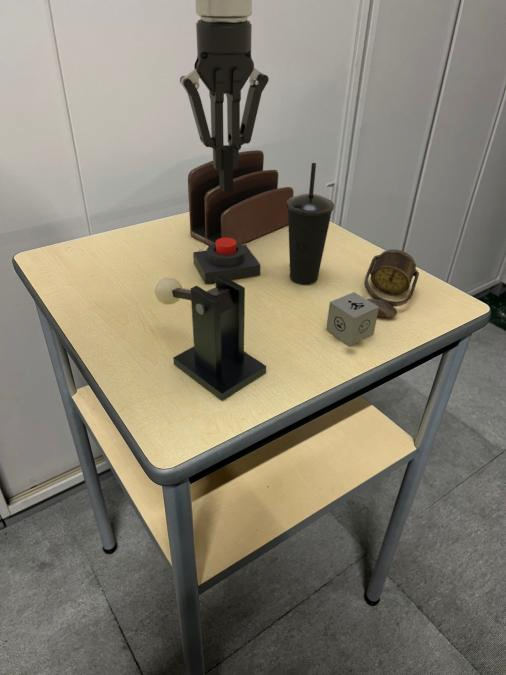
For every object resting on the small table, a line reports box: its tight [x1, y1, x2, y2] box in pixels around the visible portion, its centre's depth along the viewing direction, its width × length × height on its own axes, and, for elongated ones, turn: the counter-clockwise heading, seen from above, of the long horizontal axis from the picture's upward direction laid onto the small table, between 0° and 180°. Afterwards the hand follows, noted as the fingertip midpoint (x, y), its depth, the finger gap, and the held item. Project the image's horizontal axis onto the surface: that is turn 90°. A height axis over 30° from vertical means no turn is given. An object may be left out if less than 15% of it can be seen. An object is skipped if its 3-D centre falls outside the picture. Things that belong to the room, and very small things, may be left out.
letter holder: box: [187, 149, 295, 246], centre depth 102 cm, size 10×20×14 cm, turn 135°
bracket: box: [172, 275, 267, 401], centre depth 67 cm, size 10×8×13 cm
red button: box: [216, 238, 236, 255], centre depth 90 cm, size 4×4×2 cm
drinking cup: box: [286, 162, 335, 286], centre depth 85 cm, size 8×8×20 cm
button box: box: [192, 242, 261, 285], centre depth 91 cm, size 10×8×4 cm
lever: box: [154, 276, 234, 313], centre depth 68 cm, size 14×4×4 cm, turn 44°
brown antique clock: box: [363, 249, 420, 318], centre depth 84 cm, size 7×13×10 cm
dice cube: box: [325, 291, 379, 347], centre depth 76 cm, size 5×5×5 cm
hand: (226, 188), depth 84 cm, fingers closed
